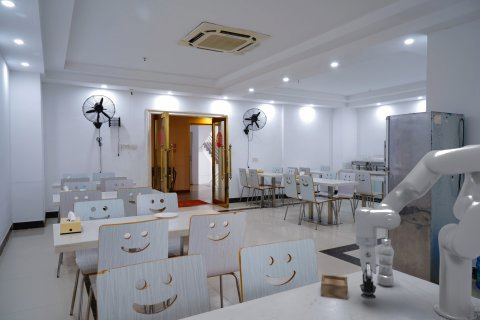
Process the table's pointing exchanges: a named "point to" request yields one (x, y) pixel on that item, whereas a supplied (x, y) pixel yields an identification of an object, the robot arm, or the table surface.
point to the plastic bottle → (385, 263)
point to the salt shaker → (367, 294)
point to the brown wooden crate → (334, 286)
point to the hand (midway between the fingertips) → (368, 287)
